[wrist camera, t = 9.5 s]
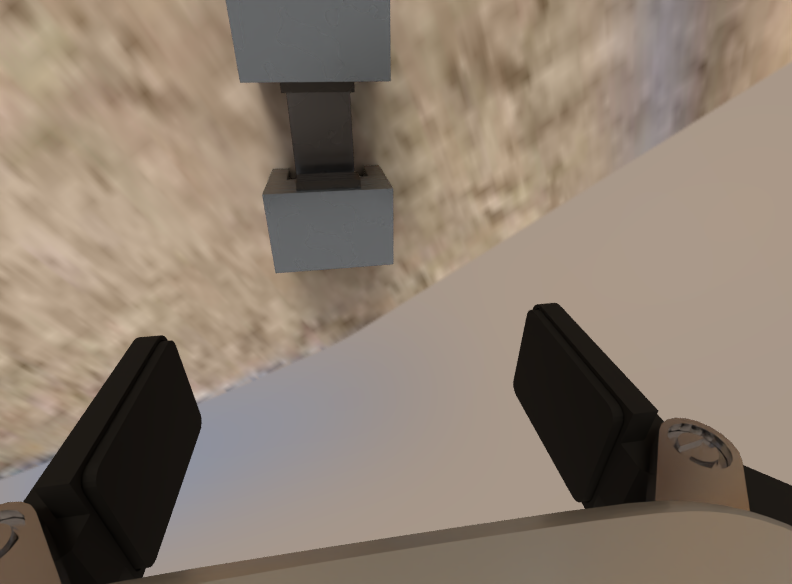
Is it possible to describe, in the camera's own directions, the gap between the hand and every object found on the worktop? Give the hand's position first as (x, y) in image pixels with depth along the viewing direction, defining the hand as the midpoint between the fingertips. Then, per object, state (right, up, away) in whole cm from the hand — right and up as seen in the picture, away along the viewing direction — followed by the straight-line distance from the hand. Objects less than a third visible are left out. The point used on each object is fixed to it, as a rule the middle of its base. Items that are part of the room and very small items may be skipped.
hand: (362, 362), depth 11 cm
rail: (-3, +11, +11) cm, 16 cm away
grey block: (-3, +7, +13) cm, 15 cm away
